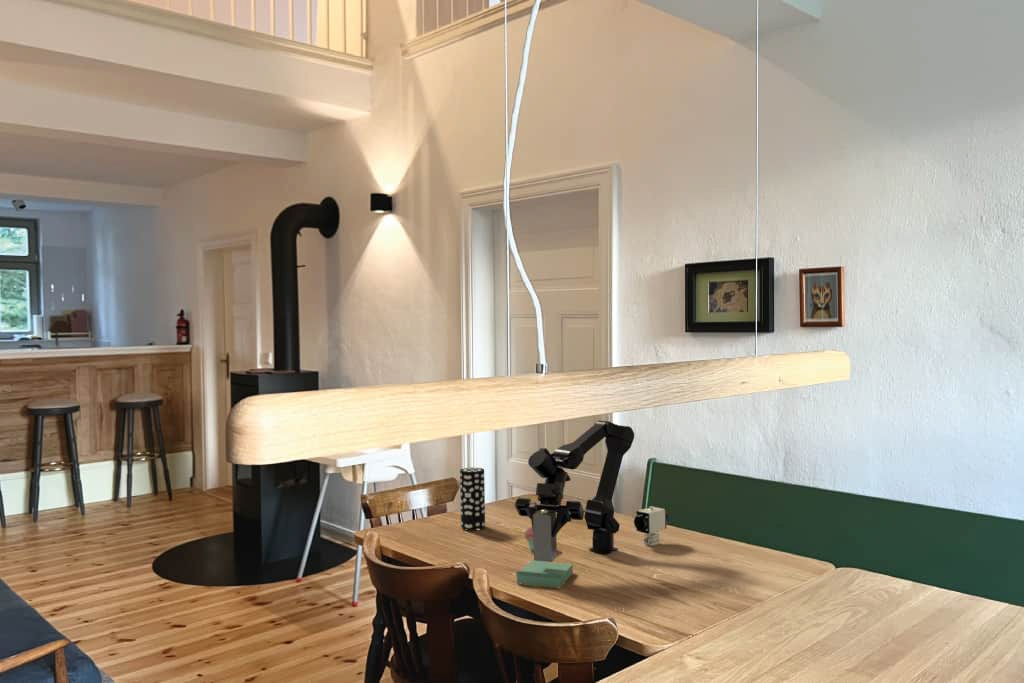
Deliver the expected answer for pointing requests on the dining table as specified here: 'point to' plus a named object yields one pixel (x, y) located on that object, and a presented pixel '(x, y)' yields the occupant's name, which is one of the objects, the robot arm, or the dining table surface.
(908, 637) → the dining table surface
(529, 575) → the coupler stand
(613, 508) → the robot arm
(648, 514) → the white security camera
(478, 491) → the white-spotted black cylinder
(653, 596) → the dining table surface
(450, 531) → the dining table surface
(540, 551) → the block
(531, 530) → the cupcake
